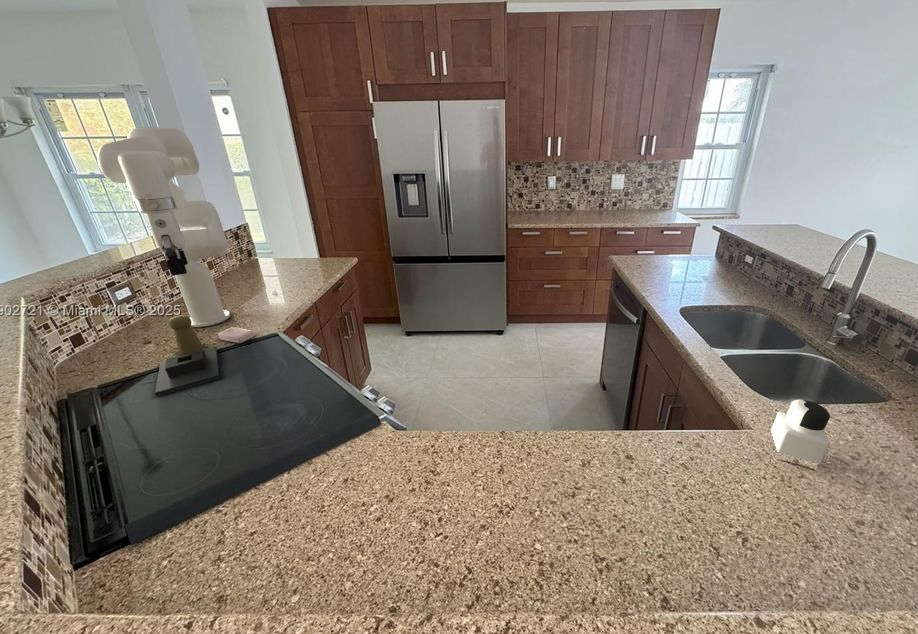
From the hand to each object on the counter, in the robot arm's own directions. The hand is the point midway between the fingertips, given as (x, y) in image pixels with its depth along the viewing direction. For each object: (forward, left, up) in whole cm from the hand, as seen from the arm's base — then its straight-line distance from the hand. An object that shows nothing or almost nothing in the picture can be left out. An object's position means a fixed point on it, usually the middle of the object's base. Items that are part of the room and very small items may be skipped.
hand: (180, 269), depth 101 cm
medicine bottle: (+119, +96, -26) cm, 155 cm away
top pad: (+9, -5, -25) cm, 27 cm away
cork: (-6, -5, -26) cm, 28 cm away
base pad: (+9, -5, -26) cm, 28 cm away
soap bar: (-6, +7, -26) cm, 28 cm away
